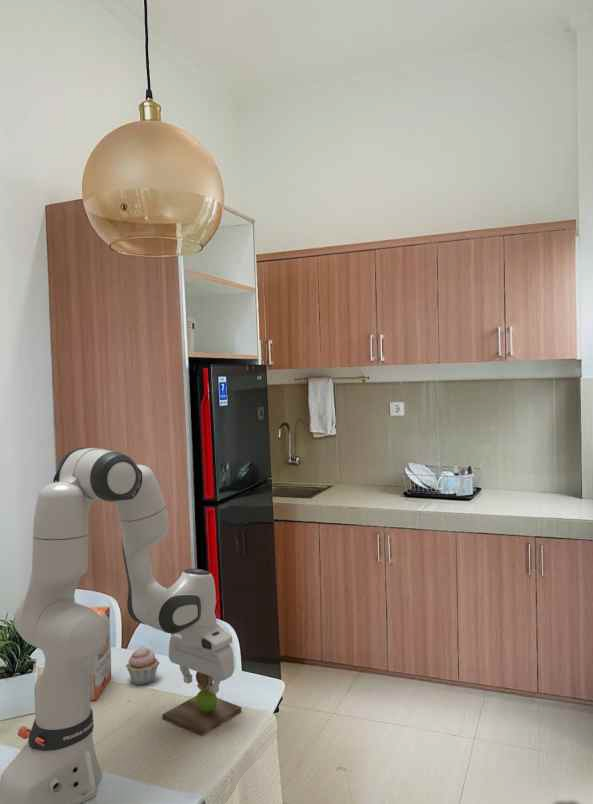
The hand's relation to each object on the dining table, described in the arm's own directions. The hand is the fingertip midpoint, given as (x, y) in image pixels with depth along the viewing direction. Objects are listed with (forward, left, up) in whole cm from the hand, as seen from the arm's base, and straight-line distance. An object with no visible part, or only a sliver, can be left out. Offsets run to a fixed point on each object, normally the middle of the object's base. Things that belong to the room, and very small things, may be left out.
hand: (201, 687), depth 166 cm
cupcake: (+4, +28, -8) cm, 29 cm away
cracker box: (-7, +35, -8) cm, 36 cm away
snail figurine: (0, -3, -6) cm, 6 cm away
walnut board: (0, 0, -7) cm, 7 cm away
